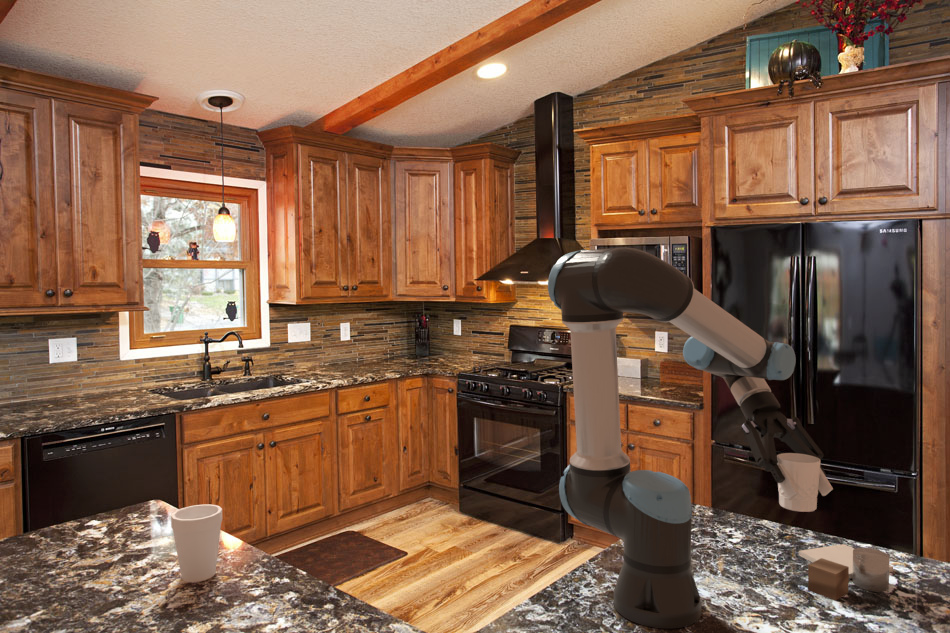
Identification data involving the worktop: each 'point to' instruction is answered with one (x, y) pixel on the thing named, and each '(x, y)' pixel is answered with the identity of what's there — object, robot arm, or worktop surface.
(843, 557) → the tile
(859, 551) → the grey tin
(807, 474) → the white cup
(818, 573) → the walnut block
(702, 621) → the worktop surface
